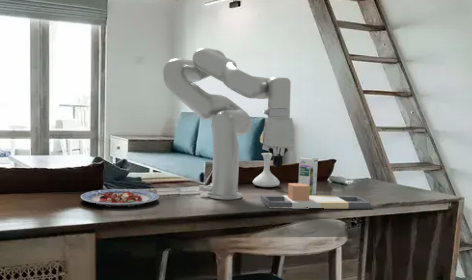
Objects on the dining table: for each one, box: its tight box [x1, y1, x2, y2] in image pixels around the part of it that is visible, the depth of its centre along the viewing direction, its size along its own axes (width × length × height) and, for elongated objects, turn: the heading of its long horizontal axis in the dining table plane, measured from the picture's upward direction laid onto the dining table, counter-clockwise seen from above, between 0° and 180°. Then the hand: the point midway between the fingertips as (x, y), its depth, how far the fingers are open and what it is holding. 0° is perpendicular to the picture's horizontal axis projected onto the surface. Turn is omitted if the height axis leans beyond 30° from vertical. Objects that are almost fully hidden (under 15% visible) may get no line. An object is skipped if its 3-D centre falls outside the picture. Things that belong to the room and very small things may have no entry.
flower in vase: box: [252, 130, 280, 188], centre depth 218 cm, size 13×11×25 cm
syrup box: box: [297, 156, 319, 195], centre depth 204 cm, size 6×6×14 cm
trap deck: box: [260, 194, 372, 210], centre depth 185 cm, size 36×13×2 cm, turn 100°
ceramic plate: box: [80, 188, 160, 207], centre depth 178 cm, size 26×26×3 cm
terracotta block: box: [287, 182, 310, 201], centre depth 184 cm, size 6×6×5 cm
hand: (277, 167), depth 182 cm, fingers closed
